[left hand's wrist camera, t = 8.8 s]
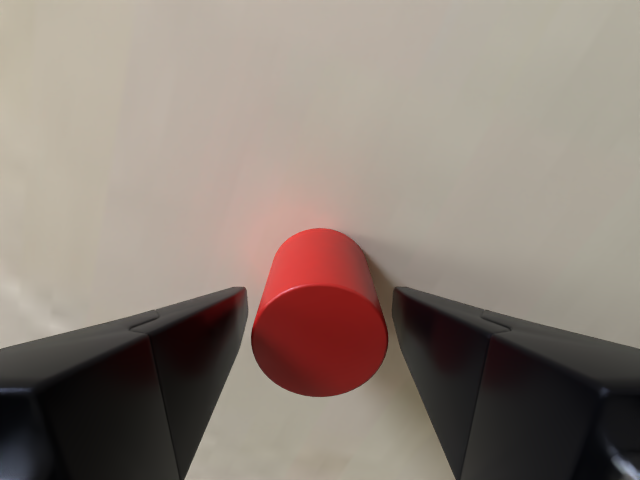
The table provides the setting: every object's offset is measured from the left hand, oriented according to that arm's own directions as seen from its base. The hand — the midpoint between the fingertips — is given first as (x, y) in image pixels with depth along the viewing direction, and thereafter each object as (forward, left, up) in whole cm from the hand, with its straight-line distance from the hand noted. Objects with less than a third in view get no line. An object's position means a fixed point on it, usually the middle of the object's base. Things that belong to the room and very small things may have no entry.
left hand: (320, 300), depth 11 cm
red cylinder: (0, 0, -2) cm, 2 cm away
